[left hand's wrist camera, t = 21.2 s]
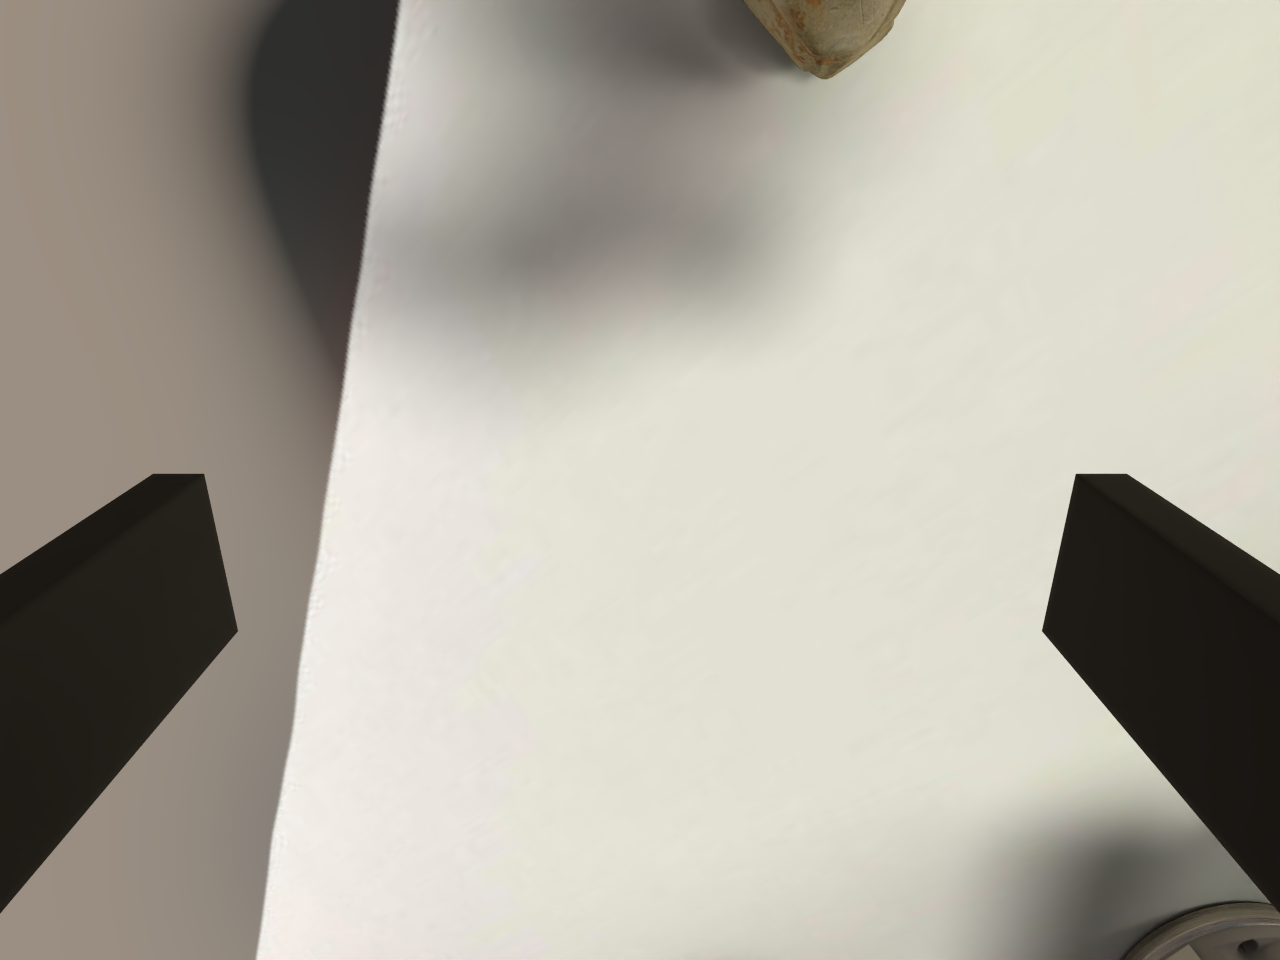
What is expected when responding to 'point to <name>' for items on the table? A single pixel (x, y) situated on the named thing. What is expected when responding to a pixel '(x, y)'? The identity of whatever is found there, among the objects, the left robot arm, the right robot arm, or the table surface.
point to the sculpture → (826, 29)
